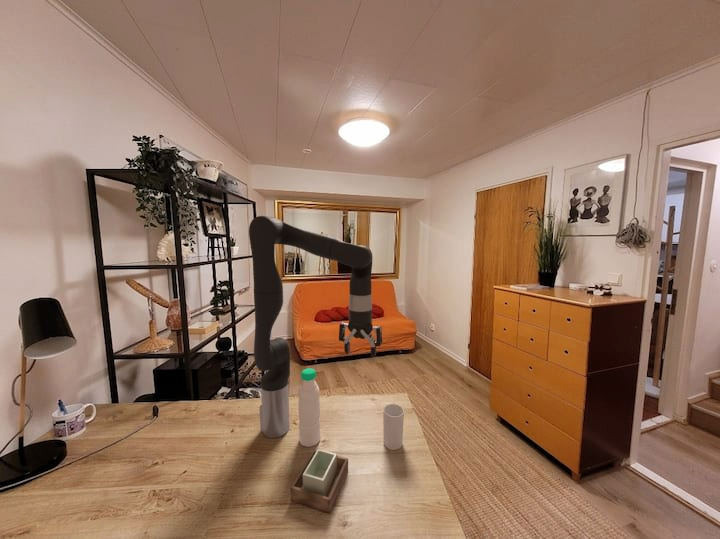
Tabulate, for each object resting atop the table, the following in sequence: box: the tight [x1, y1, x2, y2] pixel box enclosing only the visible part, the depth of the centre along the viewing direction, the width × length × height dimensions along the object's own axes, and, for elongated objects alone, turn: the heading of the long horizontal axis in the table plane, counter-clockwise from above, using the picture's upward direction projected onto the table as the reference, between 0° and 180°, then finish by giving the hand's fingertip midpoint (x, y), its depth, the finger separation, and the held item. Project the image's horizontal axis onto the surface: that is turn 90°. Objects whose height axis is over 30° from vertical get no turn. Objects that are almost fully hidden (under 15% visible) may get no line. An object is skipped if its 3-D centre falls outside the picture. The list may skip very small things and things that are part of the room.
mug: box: [382, 402, 405, 451], centre depth 91 cm, size 10×7×12 cm, turn 171°
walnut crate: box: [290, 449, 349, 515], centre depth 75 cm, size 11×13×4 cm
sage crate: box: [303, 448, 338, 496], centre depth 75 cm, size 6×9×6 cm, turn 162°
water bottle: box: [297, 368, 321, 448], centre depth 90 cm, size 7×7×25 cm
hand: (360, 355), depth 89 cm, fingers open, 8 cm apart
